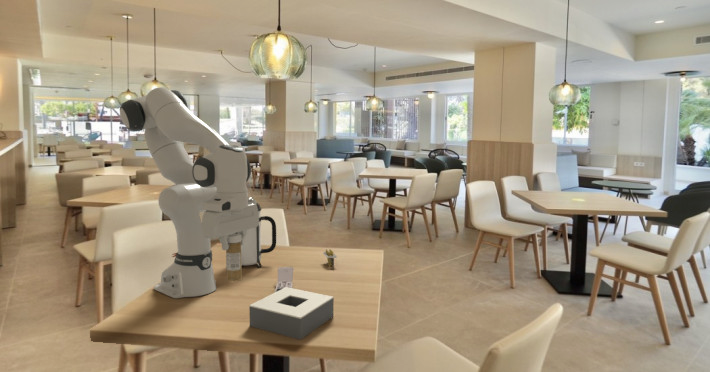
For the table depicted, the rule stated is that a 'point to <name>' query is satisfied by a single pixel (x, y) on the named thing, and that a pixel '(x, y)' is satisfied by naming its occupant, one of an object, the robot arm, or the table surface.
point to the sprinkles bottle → (234, 258)
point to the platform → (330, 256)
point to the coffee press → (256, 242)
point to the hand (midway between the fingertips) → (232, 247)
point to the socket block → (291, 312)
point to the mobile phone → (284, 278)
